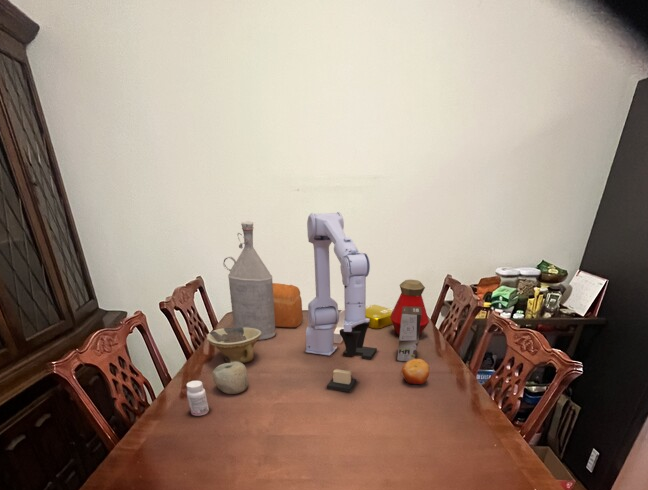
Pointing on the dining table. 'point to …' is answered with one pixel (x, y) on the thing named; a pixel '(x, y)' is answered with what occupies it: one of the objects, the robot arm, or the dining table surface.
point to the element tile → (378, 316)
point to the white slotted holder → (339, 327)
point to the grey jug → (251, 288)
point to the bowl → (235, 342)
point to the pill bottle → (197, 398)
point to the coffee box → (409, 333)
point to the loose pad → (341, 386)
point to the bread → (287, 305)
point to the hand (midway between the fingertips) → (355, 351)
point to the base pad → (363, 352)
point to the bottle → (409, 303)
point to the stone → (231, 377)
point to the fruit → (415, 371)
